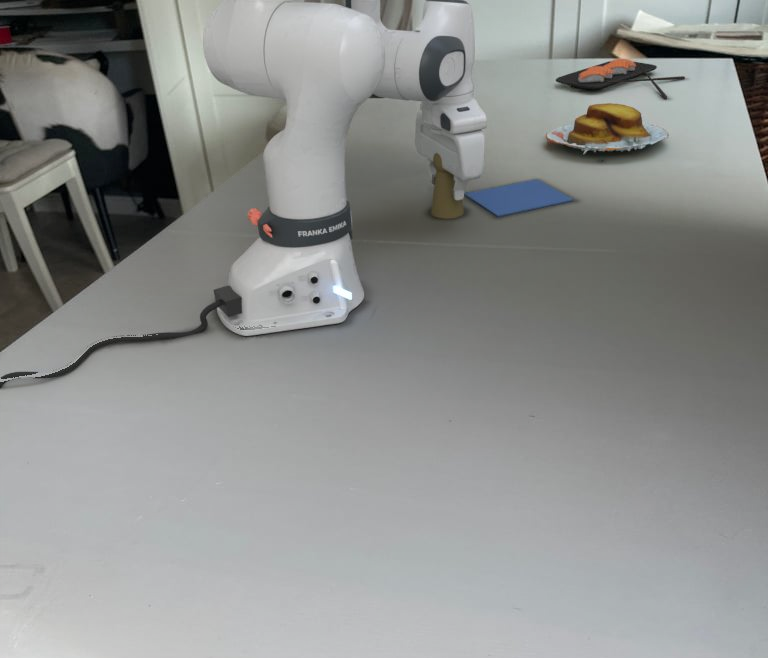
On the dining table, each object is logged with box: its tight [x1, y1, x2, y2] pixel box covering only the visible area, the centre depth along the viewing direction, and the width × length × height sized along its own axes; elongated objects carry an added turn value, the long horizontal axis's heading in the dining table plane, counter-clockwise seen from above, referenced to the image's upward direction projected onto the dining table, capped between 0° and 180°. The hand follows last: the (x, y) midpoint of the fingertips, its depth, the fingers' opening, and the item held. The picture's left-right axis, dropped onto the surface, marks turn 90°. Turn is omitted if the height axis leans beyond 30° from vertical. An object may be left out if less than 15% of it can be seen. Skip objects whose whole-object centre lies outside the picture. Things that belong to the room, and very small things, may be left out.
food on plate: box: [545, 102, 670, 162], centre depth 172 cm, size 25×25×7 cm
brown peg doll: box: [430, 153, 465, 220], centre depth 145 cm, size 6×6×11 cm
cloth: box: [464, 178, 574, 218], centre depth 152 cm, size 16×13×1 cm
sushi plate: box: [555, 58, 686, 100], centre depth 210 cm, size 29×30×4 cm
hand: (447, 191), depth 146 cm, fingers open, 7 cm apart
